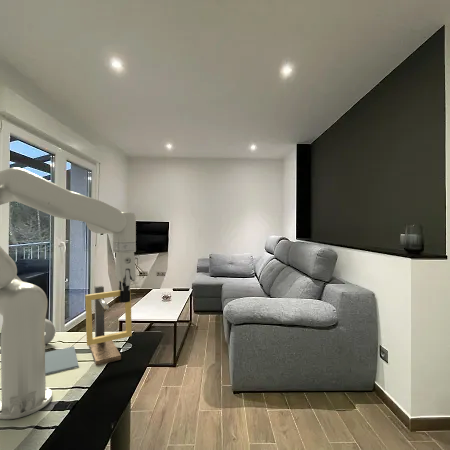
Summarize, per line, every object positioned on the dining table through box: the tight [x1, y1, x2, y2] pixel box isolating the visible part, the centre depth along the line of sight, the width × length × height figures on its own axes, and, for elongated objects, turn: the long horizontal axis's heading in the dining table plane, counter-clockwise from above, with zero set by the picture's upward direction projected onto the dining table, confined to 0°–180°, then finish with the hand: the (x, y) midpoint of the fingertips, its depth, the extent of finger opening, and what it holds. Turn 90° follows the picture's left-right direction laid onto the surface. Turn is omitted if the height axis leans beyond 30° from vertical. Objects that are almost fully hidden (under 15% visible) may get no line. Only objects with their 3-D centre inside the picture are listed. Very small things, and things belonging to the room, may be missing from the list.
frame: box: [84, 289, 133, 347], centre depth 99 cm, size 2×14×16 cm, turn 122°
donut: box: [45, 318, 56, 345], centre depth 117 cm, size 10×4×10 cm, turn 76°
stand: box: [88, 285, 122, 366], centre depth 109 cm, size 22×8×22 cm, turn 31°
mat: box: [45, 346, 79, 376], centre depth 102 cm, size 18×12×1 cm, turn 31°
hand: (124, 301), depth 101 cm, fingers closed on frame, 1 cm apart
